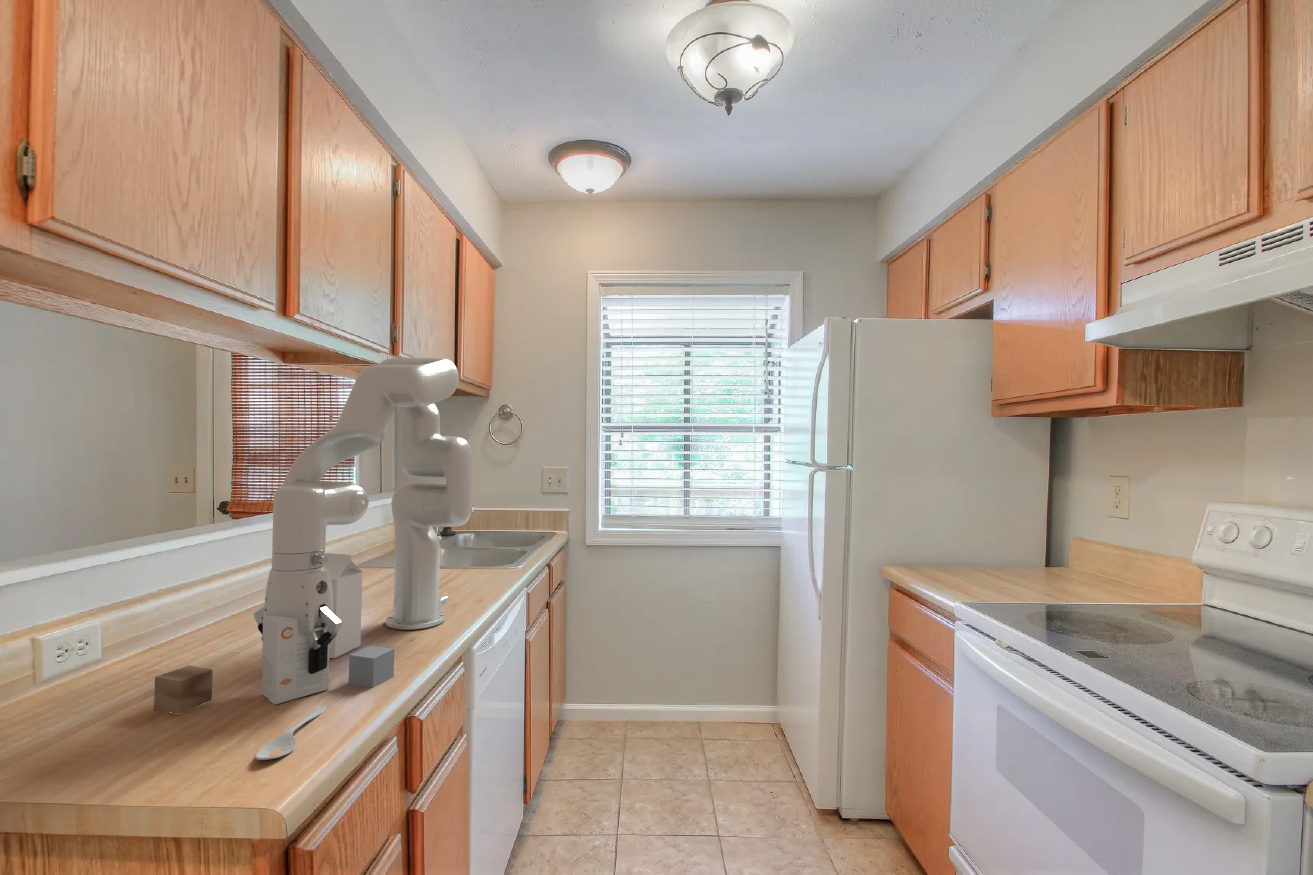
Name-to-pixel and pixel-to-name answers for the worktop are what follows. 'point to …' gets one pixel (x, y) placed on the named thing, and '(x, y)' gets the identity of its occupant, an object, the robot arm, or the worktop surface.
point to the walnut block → (183, 689)
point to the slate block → (371, 666)
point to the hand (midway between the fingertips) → (295, 667)
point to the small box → (288, 661)
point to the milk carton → (345, 602)
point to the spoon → (286, 738)
